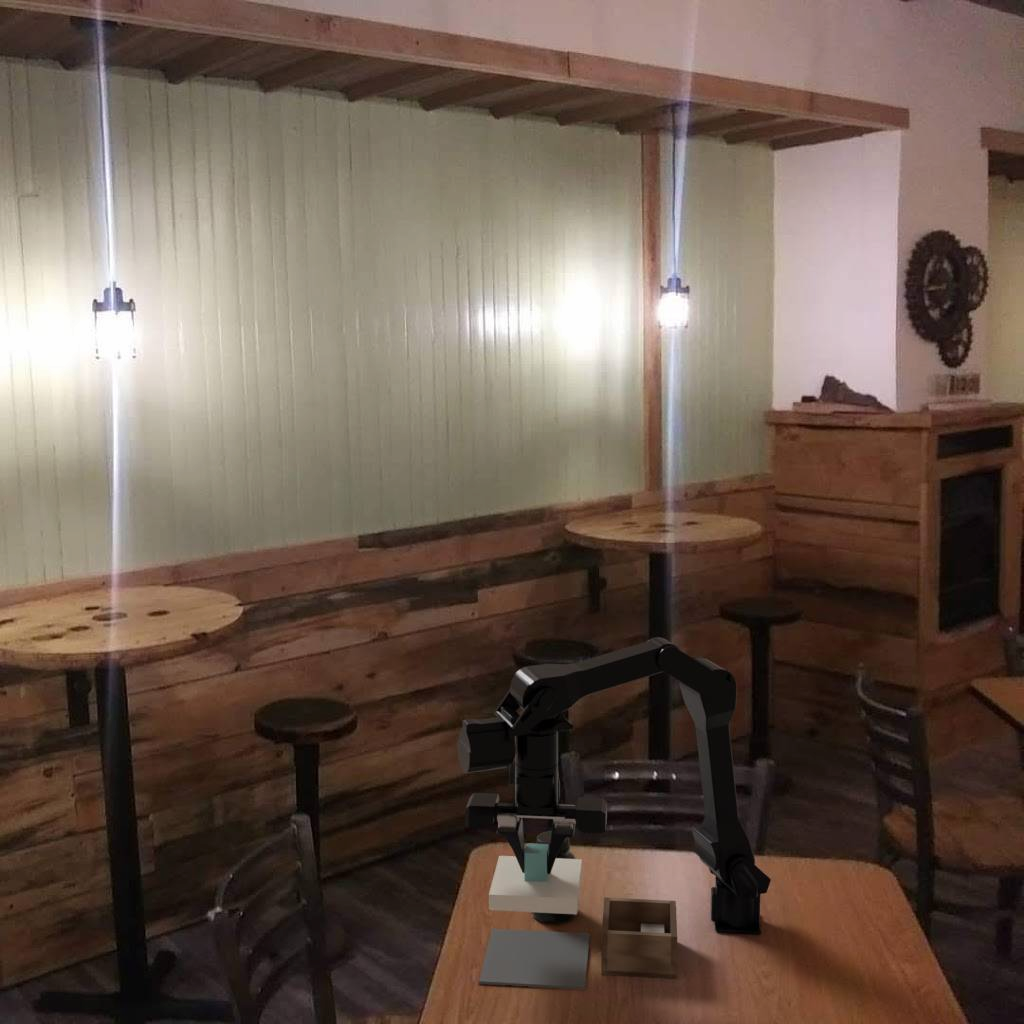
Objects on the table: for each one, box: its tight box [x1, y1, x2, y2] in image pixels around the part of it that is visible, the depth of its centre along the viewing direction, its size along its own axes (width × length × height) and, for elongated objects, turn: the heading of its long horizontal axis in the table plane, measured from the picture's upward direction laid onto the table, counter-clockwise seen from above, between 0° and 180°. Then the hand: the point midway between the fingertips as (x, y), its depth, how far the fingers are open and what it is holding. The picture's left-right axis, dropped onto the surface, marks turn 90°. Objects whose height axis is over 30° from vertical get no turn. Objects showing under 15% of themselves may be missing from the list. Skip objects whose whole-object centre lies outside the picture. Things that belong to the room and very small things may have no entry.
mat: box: [478, 928, 591, 991], centre depth 169 cm, size 14×14×1 cm
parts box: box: [600, 896, 678, 980], centre depth 169 cm, size 10×10×6 cm
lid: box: [488, 842, 583, 915], centre depth 166 cm, size 12×12×6 cm
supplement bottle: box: [531, 830, 577, 925], centre depth 180 cm, size 7×7×12 cm
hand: (536, 872), depth 166 cm, fingers closed on lid, 3 cm apart
